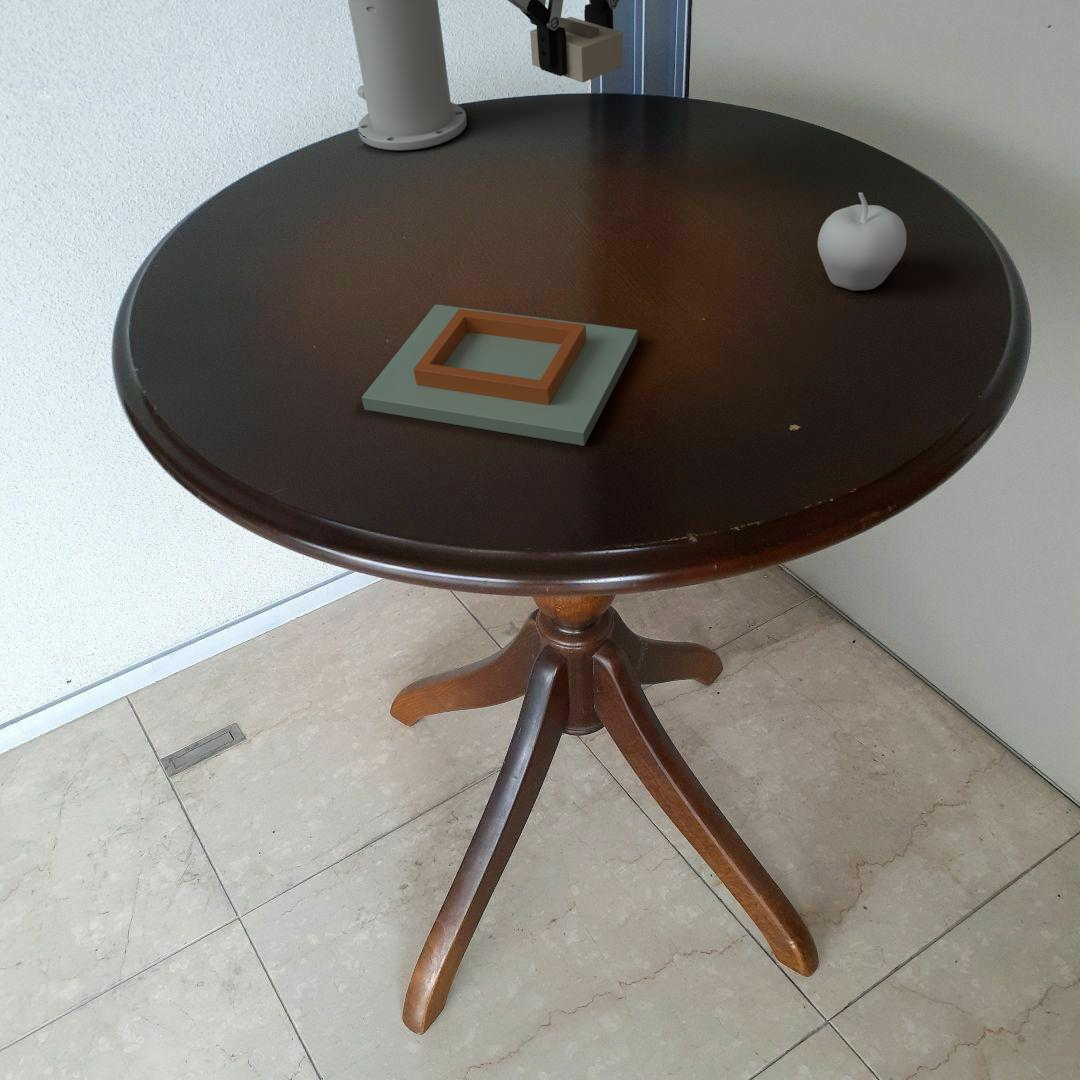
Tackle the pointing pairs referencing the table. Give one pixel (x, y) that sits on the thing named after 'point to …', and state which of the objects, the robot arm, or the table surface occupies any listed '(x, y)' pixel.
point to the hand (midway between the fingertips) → (576, 60)
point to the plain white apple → (861, 245)
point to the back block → (586, 49)
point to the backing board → (504, 373)
